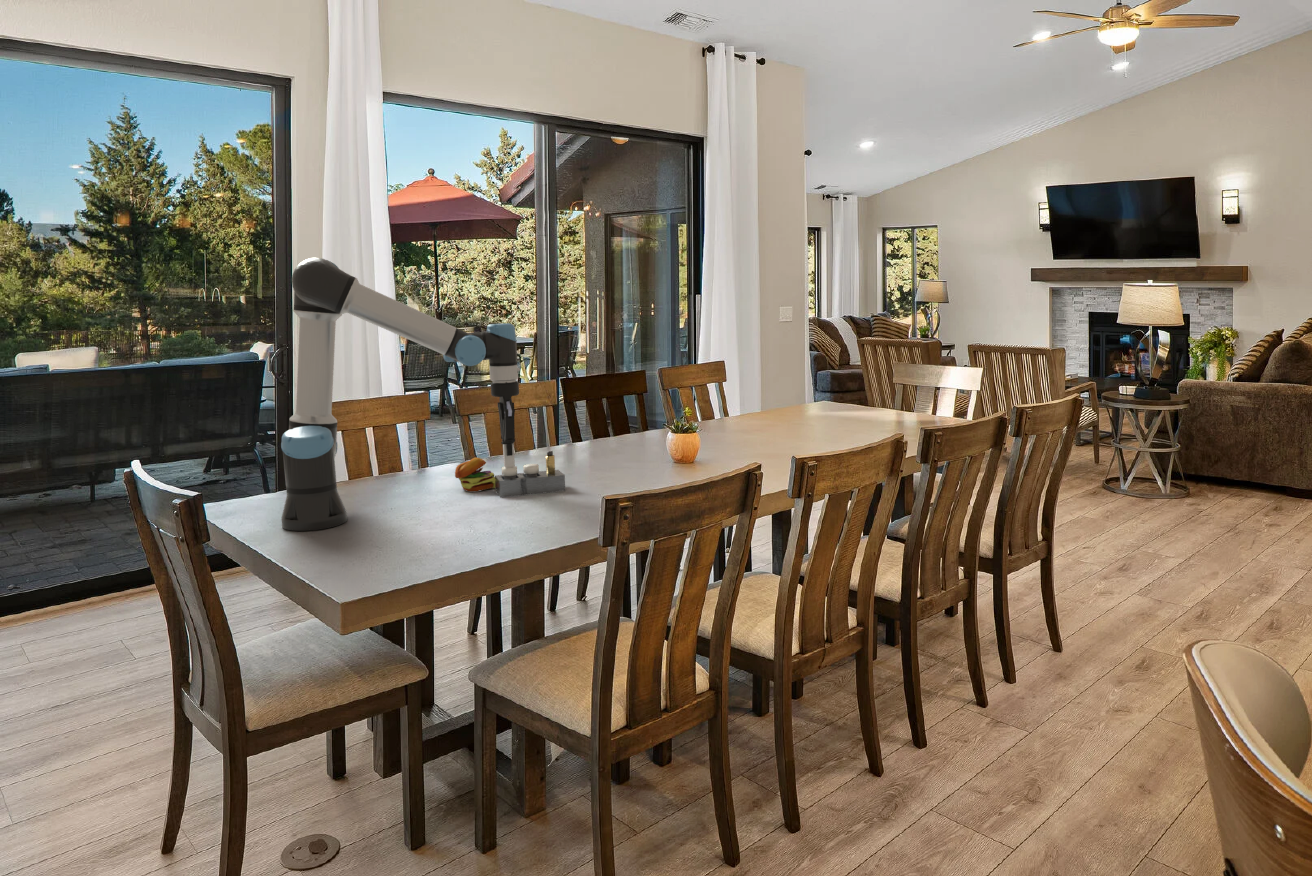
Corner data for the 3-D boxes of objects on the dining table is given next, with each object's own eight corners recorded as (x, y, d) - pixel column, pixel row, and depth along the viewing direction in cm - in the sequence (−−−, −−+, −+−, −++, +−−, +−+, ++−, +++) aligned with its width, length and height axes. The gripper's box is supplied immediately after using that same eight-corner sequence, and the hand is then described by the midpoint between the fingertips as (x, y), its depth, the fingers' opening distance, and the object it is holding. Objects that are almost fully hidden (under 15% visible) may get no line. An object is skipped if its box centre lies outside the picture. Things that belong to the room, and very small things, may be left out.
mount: (500, 497, 249) (499, 481, 248) (495, 491, 256) (494, 475, 256) (565, 490, 255) (564, 474, 254) (559, 485, 262) (558, 469, 261)
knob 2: (526, 491, 253) (524, 467, 252) (523, 488, 257) (521, 464, 256) (541, 490, 254) (539, 466, 253) (538, 487, 258) (536, 463, 257)
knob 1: (504, 493, 251) (502, 469, 250) (501, 490, 255) (500, 466, 254) (519, 492, 252) (518, 468, 251) (516, 489, 256) (515, 465, 255)
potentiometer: (547, 474, 255) (546, 452, 254) (545, 472, 257) (544, 451, 256) (556, 473, 256) (555, 451, 255) (554, 472, 258) (553, 450, 257)
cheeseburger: (494, 491, 255) (484, 458, 254) (458, 501, 256) (447, 468, 254) (501, 483, 265) (490, 450, 264) (466, 493, 266) (455, 460, 264)
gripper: (522, 382, 244) (527, 469, 248) (514, 378, 256) (518, 461, 260) (494, 384, 241) (499, 472, 245) (487, 379, 254) (492, 463, 258)
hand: (509, 466), depth 253 cm, fingers closed
